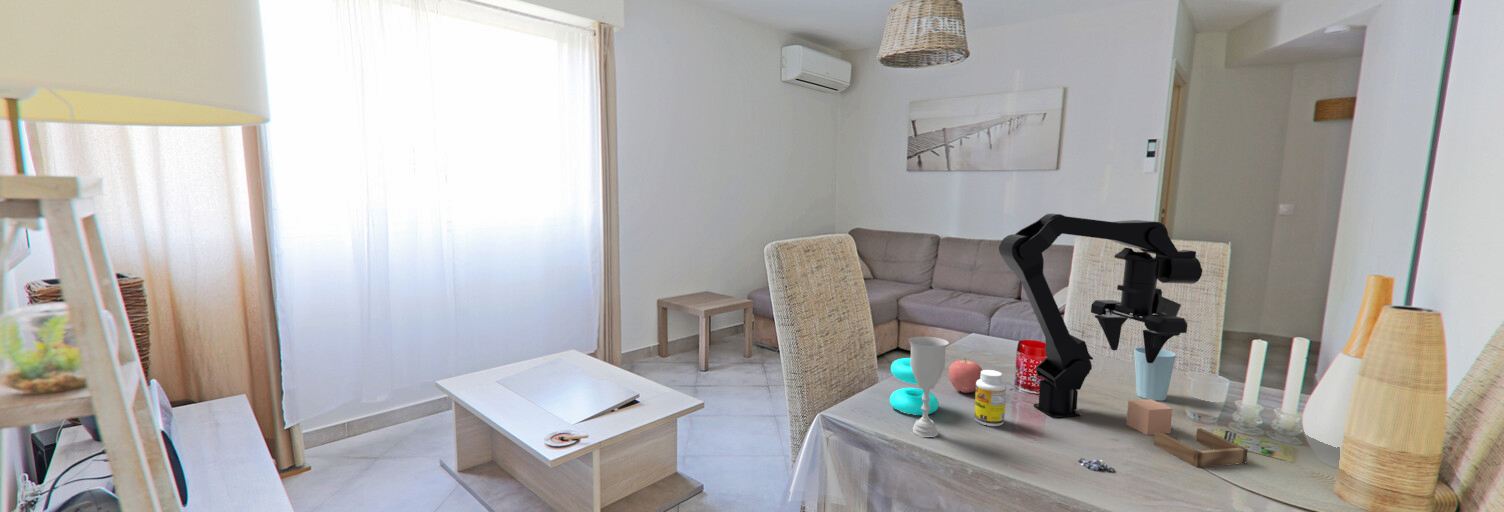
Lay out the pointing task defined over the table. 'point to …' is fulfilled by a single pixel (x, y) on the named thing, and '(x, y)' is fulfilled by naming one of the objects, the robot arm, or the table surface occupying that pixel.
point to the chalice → (927, 375)
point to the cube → (1149, 416)
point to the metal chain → (1096, 465)
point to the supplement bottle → (990, 398)
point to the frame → (1220, 455)
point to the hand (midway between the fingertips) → (1131, 356)
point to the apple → (964, 375)
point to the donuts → (909, 390)
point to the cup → (1153, 374)
